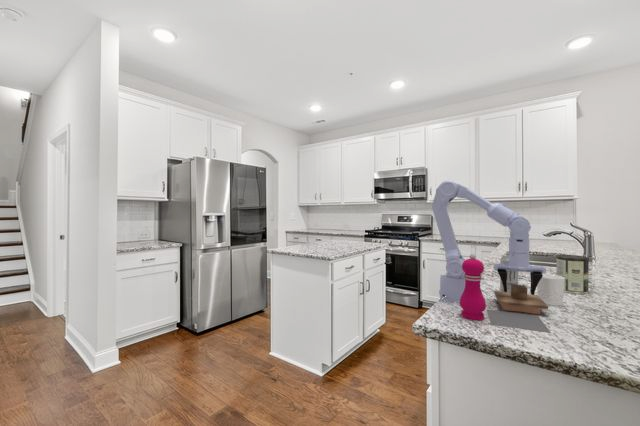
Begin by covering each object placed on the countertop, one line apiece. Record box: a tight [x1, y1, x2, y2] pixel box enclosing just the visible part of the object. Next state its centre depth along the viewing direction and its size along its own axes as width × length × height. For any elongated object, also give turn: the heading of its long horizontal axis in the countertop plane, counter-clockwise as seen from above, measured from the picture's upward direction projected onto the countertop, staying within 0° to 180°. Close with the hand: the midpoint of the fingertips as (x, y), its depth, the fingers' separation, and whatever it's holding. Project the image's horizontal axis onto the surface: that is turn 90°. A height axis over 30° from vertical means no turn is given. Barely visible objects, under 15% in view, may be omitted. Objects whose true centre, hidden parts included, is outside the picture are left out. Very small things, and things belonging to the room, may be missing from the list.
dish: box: [500, 304, 541, 315], centre depth 100 cm, size 10×10×3 cm
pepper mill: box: [459, 253, 487, 321], centre depth 92 cm, size 7×7×20 cm
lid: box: [493, 284, 549, 310], centre depth 100 cm, size 13×13×5 cm
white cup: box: [536, 273, 565, 307], centre depth 105 cm, size 8×8×10 cm
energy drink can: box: [499, 254, 519, 293], centre depth 118 cm, size 6×6×15 cm
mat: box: [486, 308, 552, 334], centre depth 89 cm, size 14×14×1 cm
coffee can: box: [555, 254, 590, 295], centre depth 122 cm, size 10×10×14 cm
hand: (518, 292), depth 100 cm, fingers open, 7 cm apart
